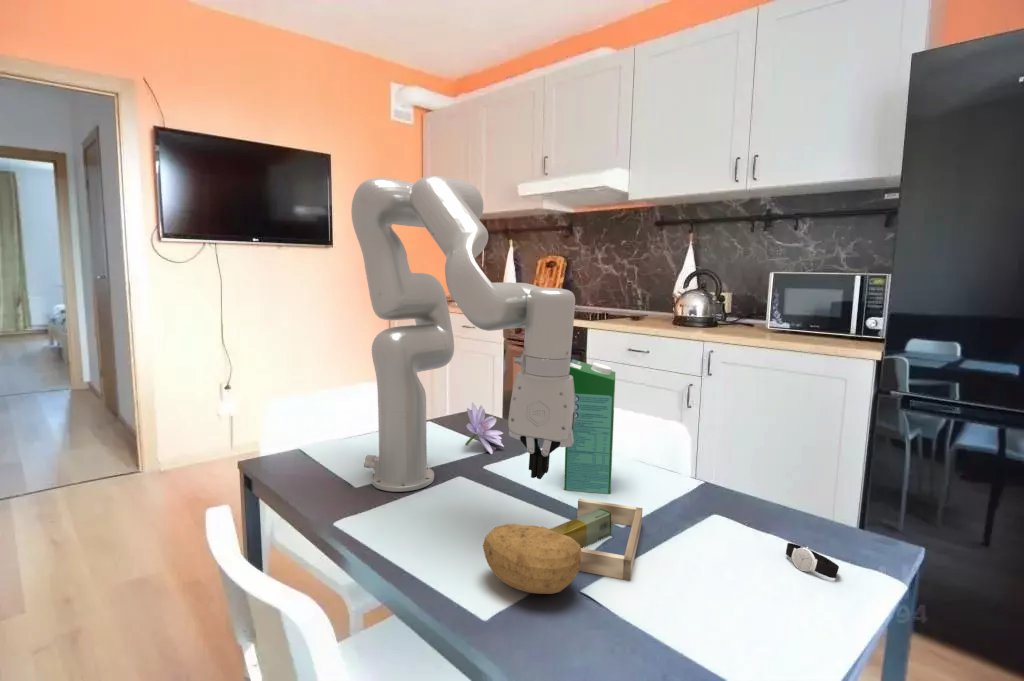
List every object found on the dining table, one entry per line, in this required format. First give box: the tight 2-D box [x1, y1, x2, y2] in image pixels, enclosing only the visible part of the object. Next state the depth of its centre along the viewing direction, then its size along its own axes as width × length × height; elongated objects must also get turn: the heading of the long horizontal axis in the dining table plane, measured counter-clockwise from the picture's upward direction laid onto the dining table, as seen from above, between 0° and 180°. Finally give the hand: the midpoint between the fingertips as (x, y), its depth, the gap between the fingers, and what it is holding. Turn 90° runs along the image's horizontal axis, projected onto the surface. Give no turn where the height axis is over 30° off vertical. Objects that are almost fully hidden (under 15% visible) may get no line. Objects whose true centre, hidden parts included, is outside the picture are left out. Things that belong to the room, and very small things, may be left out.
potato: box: [482, 523, 582, 595], centre depth 74 cm, size 10×14×8 cm
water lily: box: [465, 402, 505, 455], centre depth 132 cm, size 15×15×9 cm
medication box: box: [548, 509, 612, 548], centre depth 86 cm, size 12×3×4 cm, turn 130°
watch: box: [785, 542, 840, 579], centre depth 80 cm, size 8×5×4 cm, turn 25°
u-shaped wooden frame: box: [576, 498, 643, 582], centre depth 86 cm, size 11×18×3 cm, turn 161°
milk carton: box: [563, 359, 616, 495], centre depth 109 cm, size 9×9×25 cm
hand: (538, 475), depth 88 cm, fingers closed
